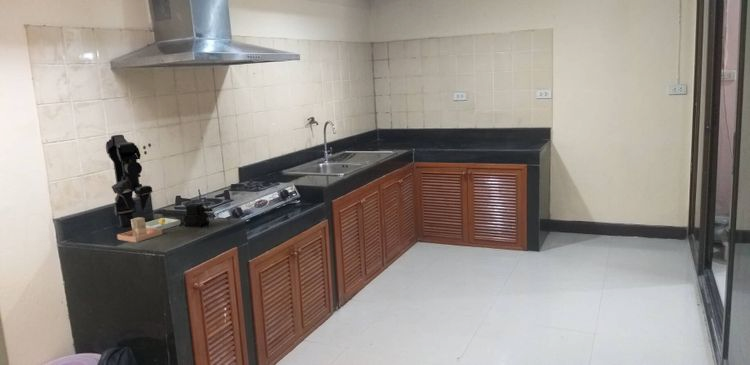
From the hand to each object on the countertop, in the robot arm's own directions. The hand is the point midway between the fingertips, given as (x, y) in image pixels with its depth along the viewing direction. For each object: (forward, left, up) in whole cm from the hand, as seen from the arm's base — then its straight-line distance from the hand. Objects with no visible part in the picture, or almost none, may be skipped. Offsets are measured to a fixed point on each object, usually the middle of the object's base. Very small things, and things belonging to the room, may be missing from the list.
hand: (136, 209), depth 255 cm
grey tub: (-7, +15, -13) cm, 21 cm away
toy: (+12, +23, -13) cm, 29 cm away
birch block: (0, 0, -12) cm, 12 cm away
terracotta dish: (0, 0, -13) cm, 13 cm away
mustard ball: (-9, +18, -12) cm, 24 cm away
